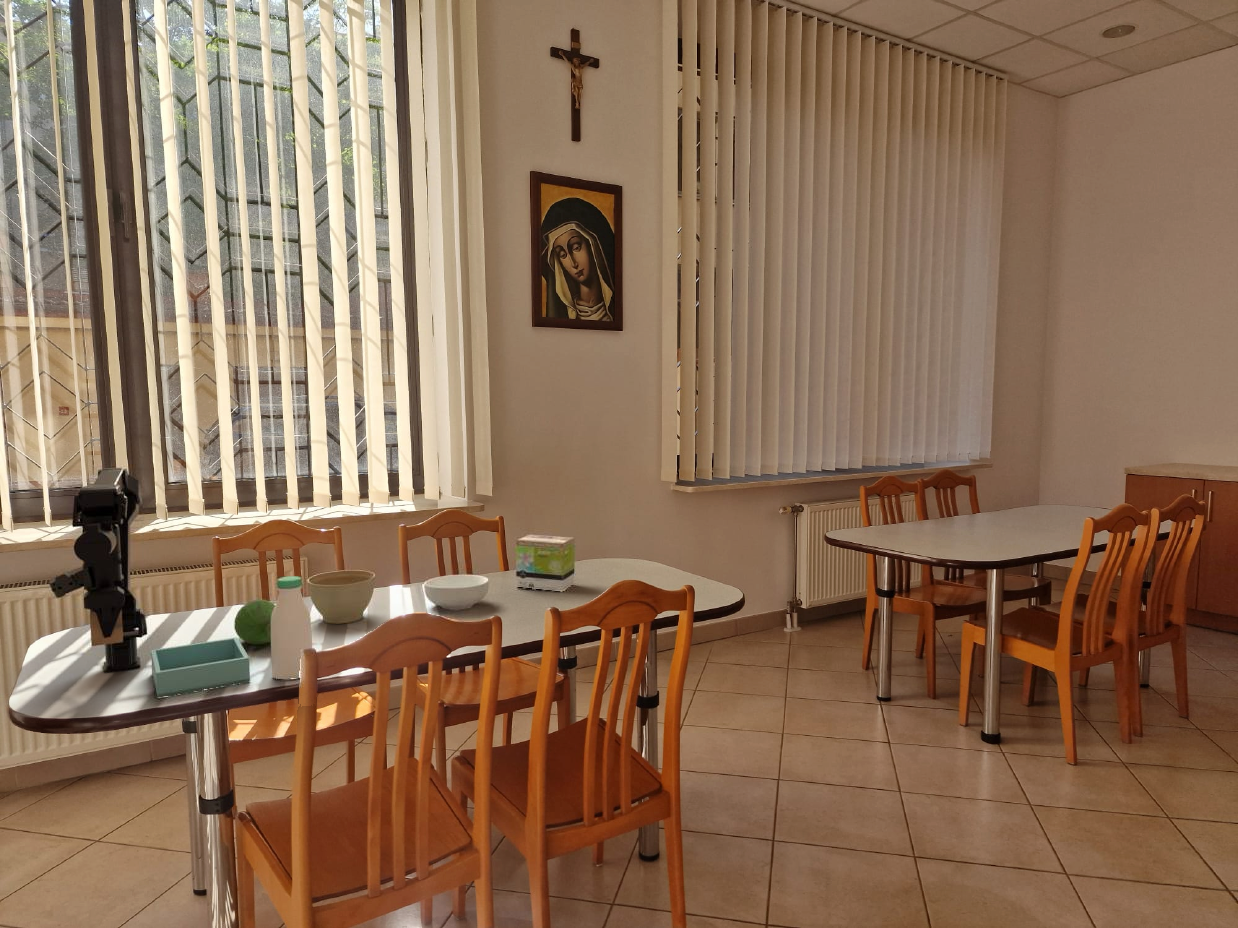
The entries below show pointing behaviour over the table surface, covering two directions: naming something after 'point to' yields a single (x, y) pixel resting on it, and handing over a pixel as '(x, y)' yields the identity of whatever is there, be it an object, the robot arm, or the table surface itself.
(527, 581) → the tea box
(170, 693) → the teal bin
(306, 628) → the milk bottle
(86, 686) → the table surface
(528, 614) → the table surface
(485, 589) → the cereal bowl
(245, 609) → the fruit
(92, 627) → the walnut block
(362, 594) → the planter bowl
